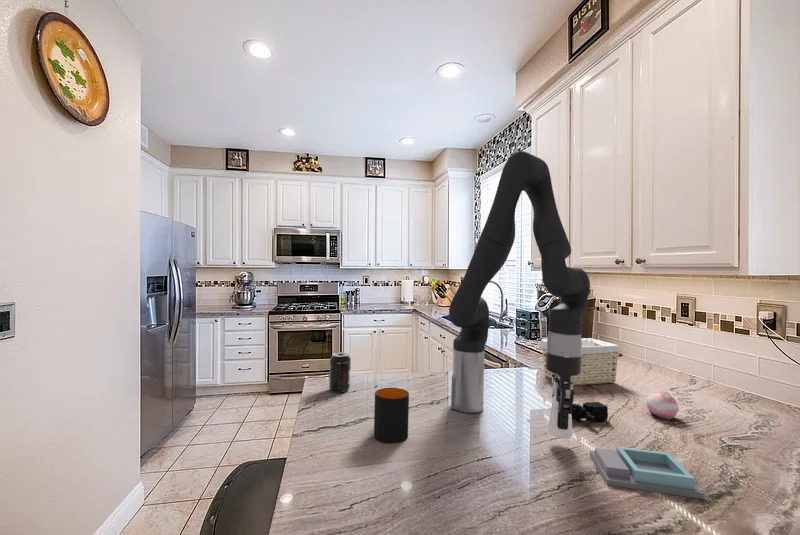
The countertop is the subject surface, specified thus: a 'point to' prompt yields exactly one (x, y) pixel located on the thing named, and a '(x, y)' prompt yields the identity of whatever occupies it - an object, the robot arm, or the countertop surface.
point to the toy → (590, 412)
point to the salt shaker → (553, 426)
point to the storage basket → (592, 362)
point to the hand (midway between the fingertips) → (560, 423)
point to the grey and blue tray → (645, 471)
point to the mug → (391, 415)
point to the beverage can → (340, 372)
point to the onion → (662, 405)
